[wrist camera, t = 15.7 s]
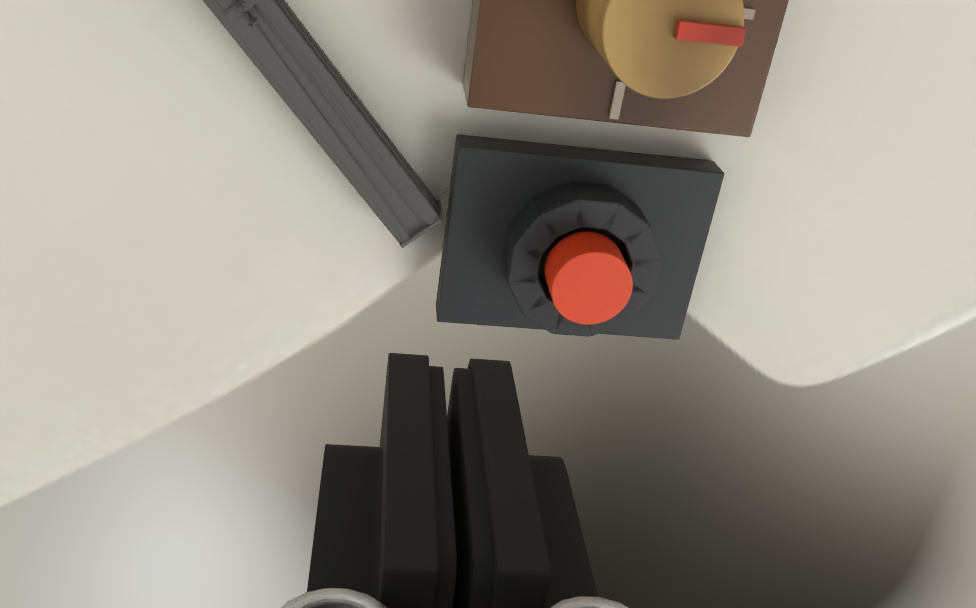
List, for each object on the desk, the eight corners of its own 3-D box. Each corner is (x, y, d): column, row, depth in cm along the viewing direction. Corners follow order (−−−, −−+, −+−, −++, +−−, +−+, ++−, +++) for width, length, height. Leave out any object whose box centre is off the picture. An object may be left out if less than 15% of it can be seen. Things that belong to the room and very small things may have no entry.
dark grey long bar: (452, 193, 38) (458, 235, 34) (401, 226, 38) (401, 271, 34) (128, -239, 29) (89, -245, 26) (69, -188, 30) (23, -187, 26)
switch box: (435, 305, 40) (438, 346, 37) (456, 134, 36) (461, 163, 33) (670, 323, 41) (691, 363, 38) (713, 160, 38) (741, 191, 35)
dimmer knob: (566, 55, 32) (592, 95, 28) (587, -76, 30) (619, -57, 25) (683, 68, 33) (728, 108, 28) (712, -60, 30) (765, -39, 26)
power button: (538, 298, 37) (544, 322, 35) (551, 227, 35) (558, 248, 33) (613, 304, 37) (623, 328, 35) (629, 234, 36) (640, 255, 34)
